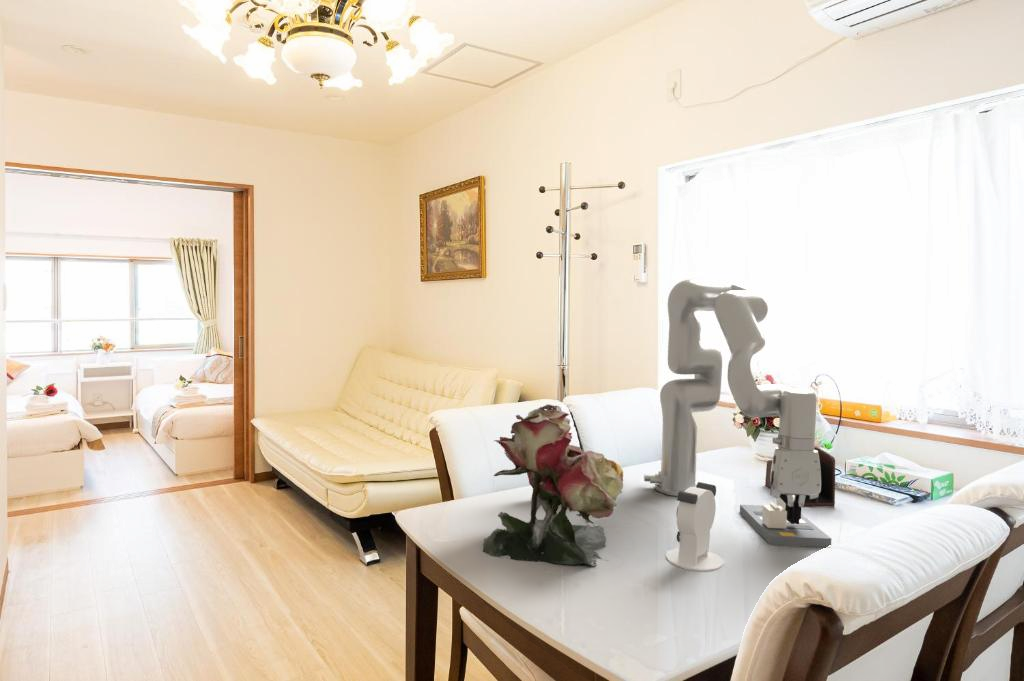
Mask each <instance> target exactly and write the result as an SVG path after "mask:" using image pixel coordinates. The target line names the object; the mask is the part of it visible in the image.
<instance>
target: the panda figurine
mask: <svg viewBox="0 0 1024 681" xmlns="http://www.w3.org/2000/svg"><path fill="white" fill-rule="evenodd" d="M696 485H697V486H696V487H689V488H688V489H686V490H685V491H684V492H683V491H679V493H678V496H676V497H677V499H676V500H677V501H678V505H677V509H676V525H677V529H678V531H677V533H676V541H677V542H678V543H679V547H676V548H672V549H670V550H667V552H666V554H665V558H666V560H667V561H668V562H669V563H670V564H672V565H673V566H676V567H678V568H680V567H681V569H683V568H684V569H685V570H688V571H695V572H712V571H716V570H719V569H721V568H722V567H723V566H724V561H723V559H722V557H721V556H719V555H717V553H715V552H712V551H709V550H710V549H709V548H710V536H711V529H712V527H713V524H714V521H715V516H716V510H717V508H716V507H717V506H716V498H715V496H716V494H717V486H716V485H715V484H711V483H707V482H706V483H705V482H701V481H698V482H697V484H696Z"/></svg>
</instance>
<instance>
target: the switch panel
mask: <svg viewBox="0 0 1024 681" xmlns="http://www.w3.org/2000/svg"><path fill="white" fill-rule="evenodd" d="M763 505H764V504H763ZM763 505H761V504H740V505H739V513H740V514H741V516H743V517H744V518H745V520H747V522H748V523H749V524H750V525H751V526H752V527H753V528H754V529H755V530H756V531H757V532H758V533H759V534H760V535H761V537H763V539H764V540H765V541H766V542H768V544H769V545H770V546H779V545H781V547H782V546H785V547H805V546H811V548H828V547H827V546H829V545H831V546H832V537H830V536H829V535H828V534H827V533H825V531H823V530H822V529H820V528H819V527H818V526H817V525H815V524H814V523H813V522H811V520H809V519H808V518H807V517H805V516H804V515H803V514H802V513H801V519H799V524H796V523H794V524H791V523H790V522H789V521H788V520H786V529H783V528H768V527H767V526H766V525H765V524H764V523H763V522H762V514H763Z"/></svg>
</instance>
